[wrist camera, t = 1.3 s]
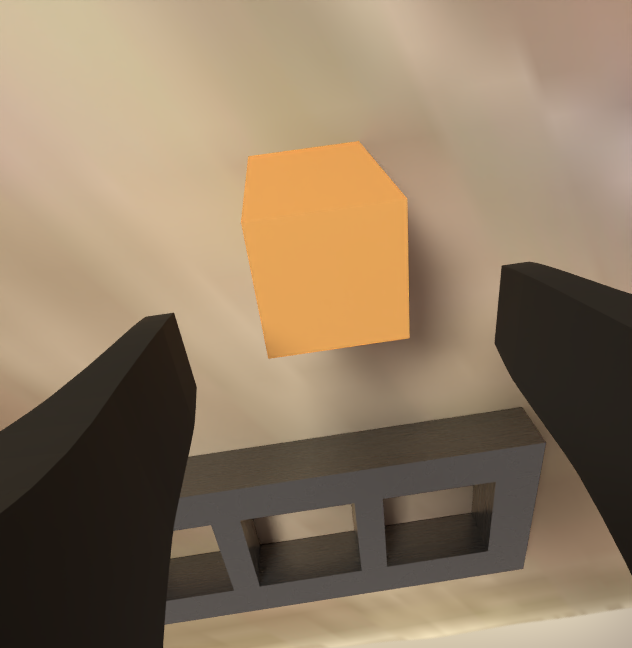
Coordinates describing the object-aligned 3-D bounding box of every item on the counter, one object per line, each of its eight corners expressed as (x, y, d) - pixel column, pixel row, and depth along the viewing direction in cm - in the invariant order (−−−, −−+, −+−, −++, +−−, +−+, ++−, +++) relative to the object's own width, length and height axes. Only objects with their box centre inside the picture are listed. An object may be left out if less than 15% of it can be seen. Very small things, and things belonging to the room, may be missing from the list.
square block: (358, 141, 18) (407, 198, 12) (365, 244, 20) (409, 337, 14) (248, 156, 18) (241, 222, 12) (266, 258, 20) (268, 358, 14)
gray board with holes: (522, 407, 25) (545, 442, 23) (504, 530, 30) (523, 568, 28) (50, 477, 25) (30, 520, 23) (115, 590, 30) (104, 634, 28)
